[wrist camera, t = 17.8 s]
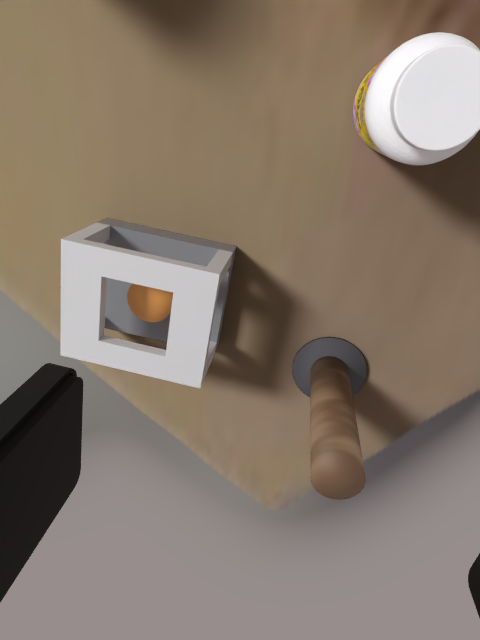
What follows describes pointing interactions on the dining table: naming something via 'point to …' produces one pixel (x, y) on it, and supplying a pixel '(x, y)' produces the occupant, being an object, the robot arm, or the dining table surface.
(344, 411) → the brown wooden rod
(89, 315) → the white hollow box
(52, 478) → the robot arm
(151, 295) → the orange hemisphere
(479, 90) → the supplement bottle
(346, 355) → the mat
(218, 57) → the dining table surface
